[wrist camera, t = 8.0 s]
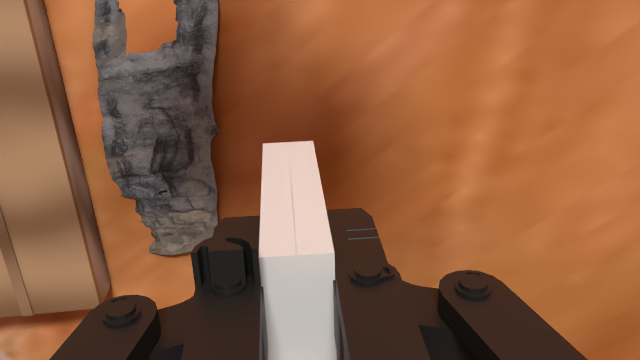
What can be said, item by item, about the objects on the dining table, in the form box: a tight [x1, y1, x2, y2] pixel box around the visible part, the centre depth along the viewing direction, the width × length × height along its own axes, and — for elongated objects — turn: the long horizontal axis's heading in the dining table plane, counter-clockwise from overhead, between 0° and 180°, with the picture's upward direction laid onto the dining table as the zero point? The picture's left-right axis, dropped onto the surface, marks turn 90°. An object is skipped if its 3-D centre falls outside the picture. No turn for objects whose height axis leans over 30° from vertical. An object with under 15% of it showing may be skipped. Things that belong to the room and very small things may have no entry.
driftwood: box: [92, 0, 218, 255], centre depth 31 cm, size 21×7×2 cm, turn 176°
